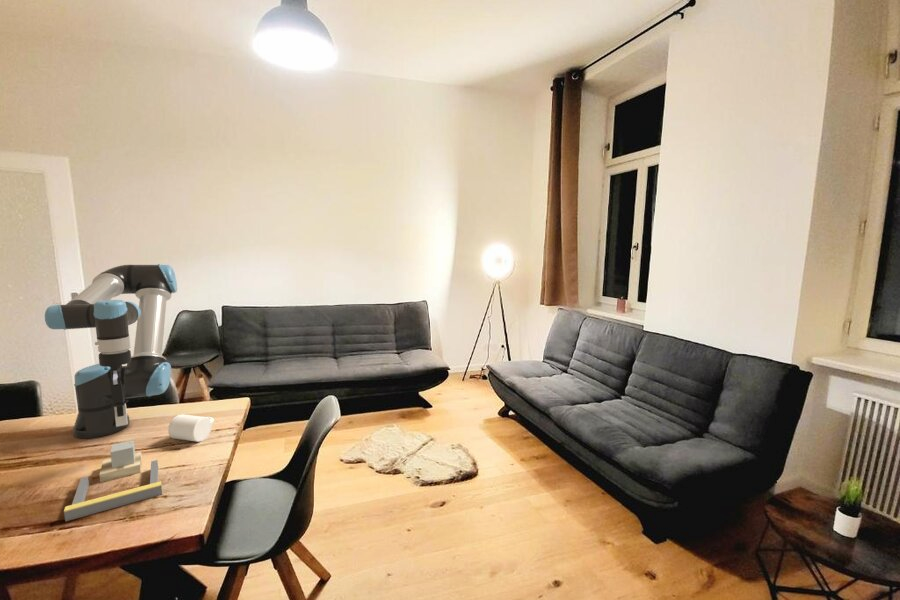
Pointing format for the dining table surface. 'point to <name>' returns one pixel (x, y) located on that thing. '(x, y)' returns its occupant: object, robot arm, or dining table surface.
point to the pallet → (120, 469)
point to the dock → (111, 497)
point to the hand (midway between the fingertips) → (121, 424)
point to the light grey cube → (122, 454)
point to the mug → (190, 427)
